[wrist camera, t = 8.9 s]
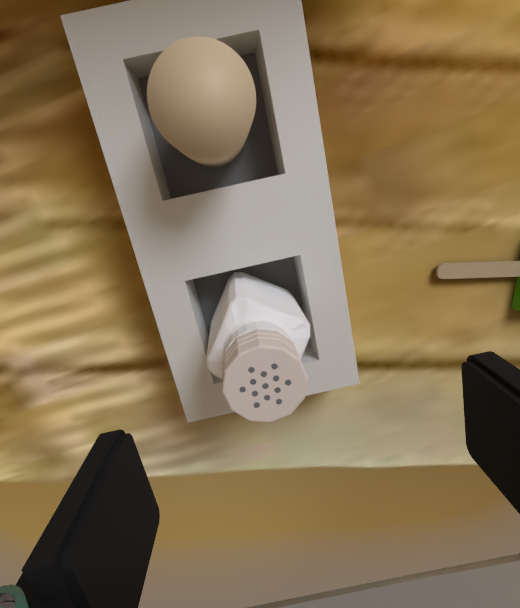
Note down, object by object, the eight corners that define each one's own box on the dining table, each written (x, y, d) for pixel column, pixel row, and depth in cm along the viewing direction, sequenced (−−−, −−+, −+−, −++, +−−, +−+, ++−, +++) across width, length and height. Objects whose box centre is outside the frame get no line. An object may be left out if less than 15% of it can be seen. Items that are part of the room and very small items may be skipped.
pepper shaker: (268, 348, 24) (292, 445, 15) (208, 326, 23) (194, 414, 14) (294, 290, 23) (337, 356, 14) (232, 266, 22) (234, 319, 13)
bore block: (283, 7, 20) (317, -110, 12) (340, 354, 26) (388, 426, 18) (93, 49, 20) (4, -42, 12) (194, 388, 26) (178, 474, 18)
